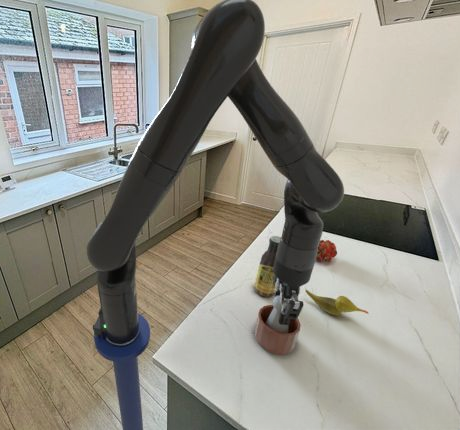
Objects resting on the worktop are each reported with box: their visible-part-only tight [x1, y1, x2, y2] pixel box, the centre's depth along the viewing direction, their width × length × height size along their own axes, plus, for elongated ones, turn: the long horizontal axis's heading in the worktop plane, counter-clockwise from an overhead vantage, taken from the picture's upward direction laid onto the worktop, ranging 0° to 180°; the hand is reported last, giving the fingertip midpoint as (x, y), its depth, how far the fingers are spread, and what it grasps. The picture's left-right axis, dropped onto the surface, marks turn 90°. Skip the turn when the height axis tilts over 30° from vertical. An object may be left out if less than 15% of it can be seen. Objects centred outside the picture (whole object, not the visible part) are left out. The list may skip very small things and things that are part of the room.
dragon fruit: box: [316, 239, 338, 263], centre depth 97 cm, size 8×8×12 cm
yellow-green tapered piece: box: [304, 289, 370, 316], centre depth 75 cm, size 4×15×6 cm, turn 47°
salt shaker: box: [265, 296, 291, 334], centre depth 66 cm, size 6×6×13 cm
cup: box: [254, 304, 302, 356], centre depth 68 cm, size 10×10×7 cm
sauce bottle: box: [253, 235, 282, 298], centre depth 80 cm, size 7×6×20 cm
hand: (280, 313), depth 65 cm, fingers open, 5 cm apart
